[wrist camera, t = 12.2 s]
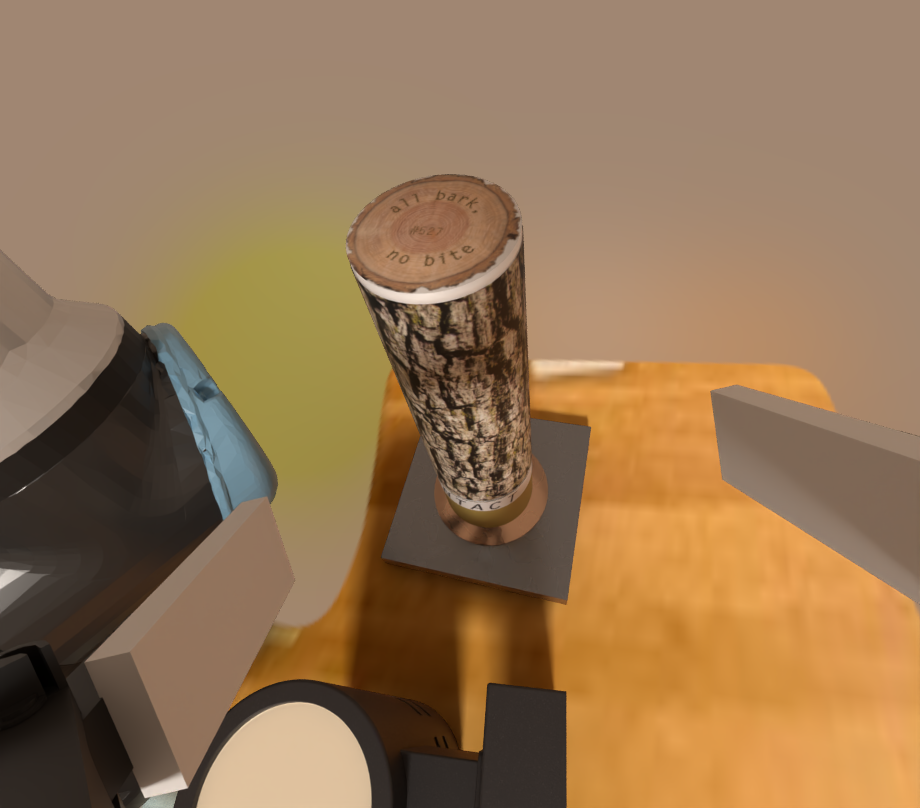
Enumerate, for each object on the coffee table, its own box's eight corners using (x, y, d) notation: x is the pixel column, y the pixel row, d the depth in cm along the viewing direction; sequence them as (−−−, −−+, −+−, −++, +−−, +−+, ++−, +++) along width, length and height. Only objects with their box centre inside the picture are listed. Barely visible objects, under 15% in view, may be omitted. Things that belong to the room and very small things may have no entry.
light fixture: (355, 678, 36) (222, 645, 21) (555, 702, 33) (566, 682, 18) (321, 861, 31) (111, 990, 16) (553, 904, 28) (566, 1104, 13)
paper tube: (460, 444, 43) (380, 170, 22) (540, 458, 41) (538, 177, 20) (436, 520, 39) (317, 284, 18) (523, 540, 38) (499, 304, 17)
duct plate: (385, 562, 40) (380, 556, 38) (434, 412, 47) (430, 402, 45) (566, 604, 36) (567, 599, 35) (589, 435, 43) (591, 425, 42)
